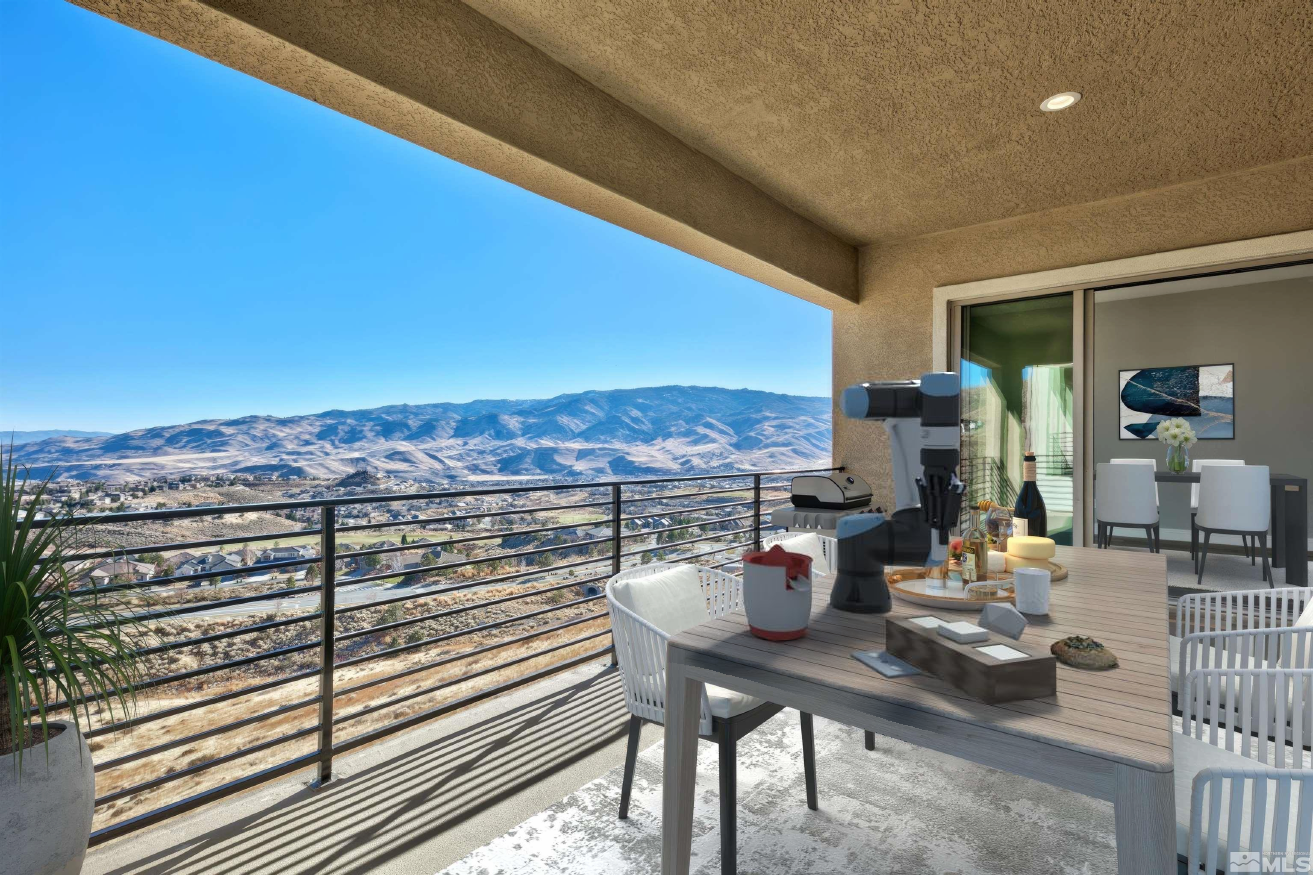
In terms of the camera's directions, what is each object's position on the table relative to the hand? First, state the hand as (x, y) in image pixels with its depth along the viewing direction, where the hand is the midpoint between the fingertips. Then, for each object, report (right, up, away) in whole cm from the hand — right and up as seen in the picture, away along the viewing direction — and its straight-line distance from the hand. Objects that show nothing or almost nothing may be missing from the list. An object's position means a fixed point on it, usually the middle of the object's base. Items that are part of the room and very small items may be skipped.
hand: (939, 559), depth 131 cm
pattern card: (-15, -18, -11) cm, 26 cm away
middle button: (-2, -13, -14) cm, 19 cm away
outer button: (+1, -15, -23) cm, 27 cm away
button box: (-2, -18, -14) cm, 23 cm away
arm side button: (-4, -15, -5) cm, 16 cm away
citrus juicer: (-32, -18, +8) cm, 38 cm away
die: (+14, -18, +2) cm, 23 cm away
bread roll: (+24, -18, -9) cm, 32 cm away
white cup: (+33, -18, +23) cm, 44 cm away
